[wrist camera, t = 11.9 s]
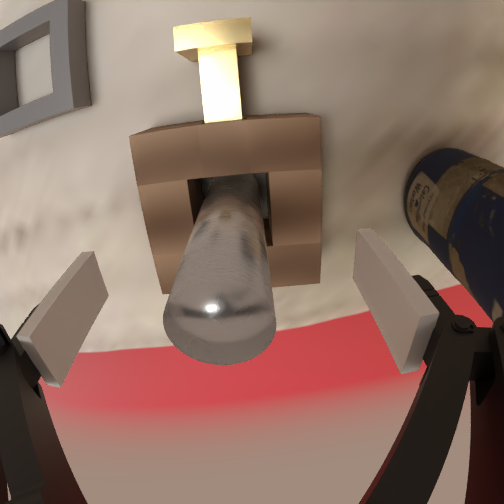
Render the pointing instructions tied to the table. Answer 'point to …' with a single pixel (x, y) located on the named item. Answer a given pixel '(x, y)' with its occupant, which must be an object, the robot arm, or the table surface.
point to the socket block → (233, 163)
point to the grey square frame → (62, 64)
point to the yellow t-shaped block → (217, 62)
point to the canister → (462, 220)
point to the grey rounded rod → (224, 279)
